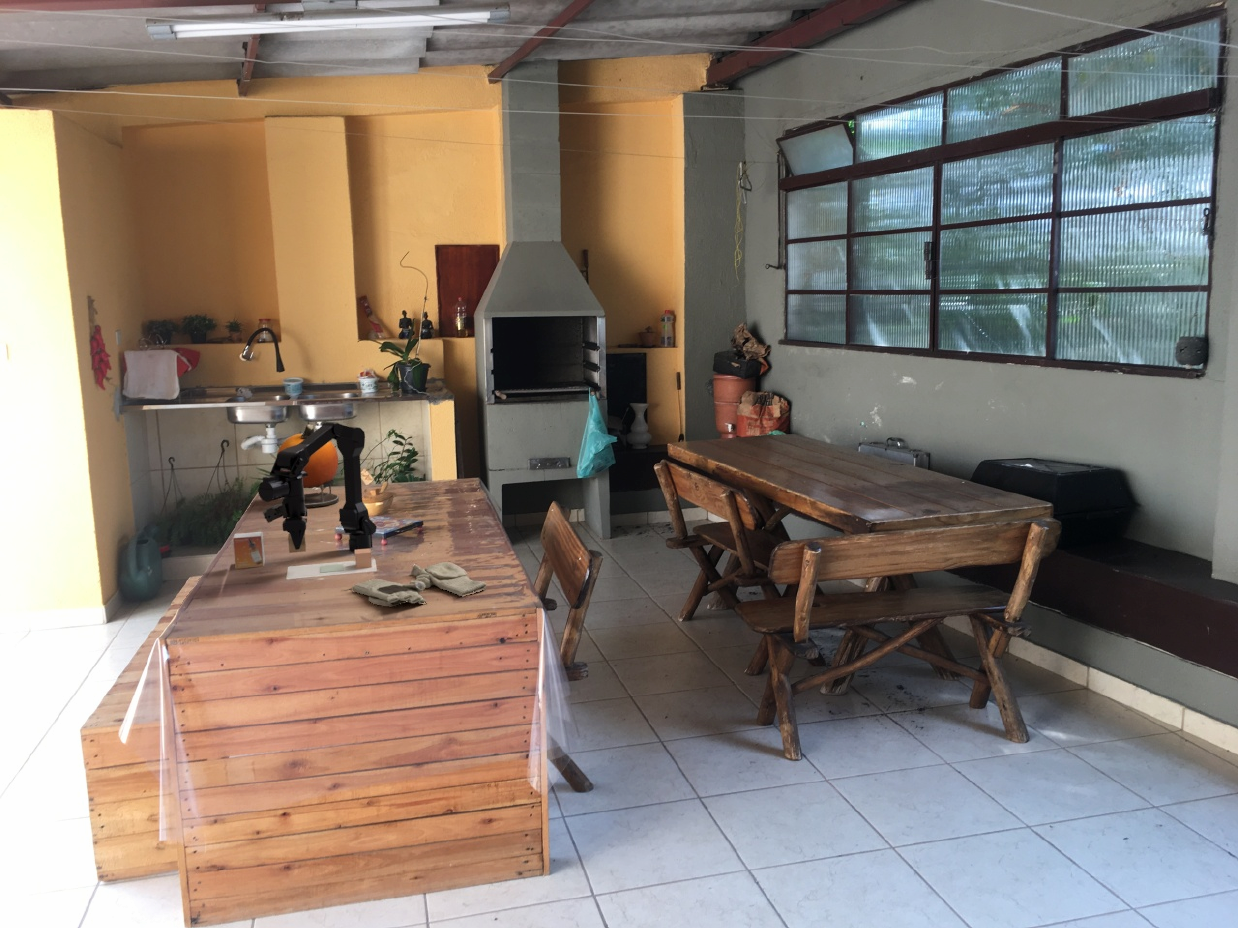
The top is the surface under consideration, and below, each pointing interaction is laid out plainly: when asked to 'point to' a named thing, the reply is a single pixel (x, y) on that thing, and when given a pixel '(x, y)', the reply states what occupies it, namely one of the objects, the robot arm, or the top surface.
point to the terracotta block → (363, 558)
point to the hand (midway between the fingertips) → (297, 547)
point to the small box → (248, 550)
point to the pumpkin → (317, 470)
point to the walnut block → (292, 548)
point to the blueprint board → (327, 569)
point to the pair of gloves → (419, 585)
